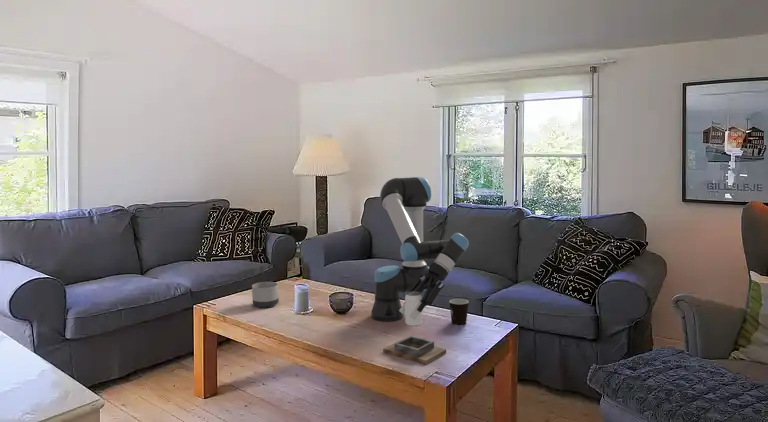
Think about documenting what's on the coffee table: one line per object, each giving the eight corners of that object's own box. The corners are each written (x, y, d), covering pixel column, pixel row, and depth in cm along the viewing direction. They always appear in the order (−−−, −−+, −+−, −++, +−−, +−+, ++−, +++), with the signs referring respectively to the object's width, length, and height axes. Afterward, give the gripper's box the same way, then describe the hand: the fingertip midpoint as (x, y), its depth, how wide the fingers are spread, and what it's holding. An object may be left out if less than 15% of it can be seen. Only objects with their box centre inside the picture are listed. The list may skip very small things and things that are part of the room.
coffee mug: (468, 326, 243) (468, 304, 242) (448, 325, 245) (448, 303, 243) (469, 318, 254) (469, 297, 253) (450, 317, 256) (450, 296, 255)
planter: (275, 308, 273) (275, 288, 271) (250, 309, 273) (249, 288, 271) (281, 301, 285) (280, 281, 284) (256, 301, 285) (255, 281, 284)
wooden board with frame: (383, 352, 214) (382, 342, 214) (404, 341, 225) (404, 332, 225) (425, 364, 202) (425, 354, 202) (446, 352, 213) (446, 343, 212)
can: (410, 320, 216) (410, 290, 215) (425, 322, 213) (425, 292, 211) (402, 324, 211) (401, 294, 210) (416, 327, 207) (416, 296, 206)
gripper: (462, 278, 210) (427, 327, 203) (431, 268, 226) (398, 314, 220) (451, 266, 206) (415, 316, 200) (421, 257, 223) (387, 303, 216)
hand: (406, 315), depth 210 cm, fingers closed on can, 6 cm apart
